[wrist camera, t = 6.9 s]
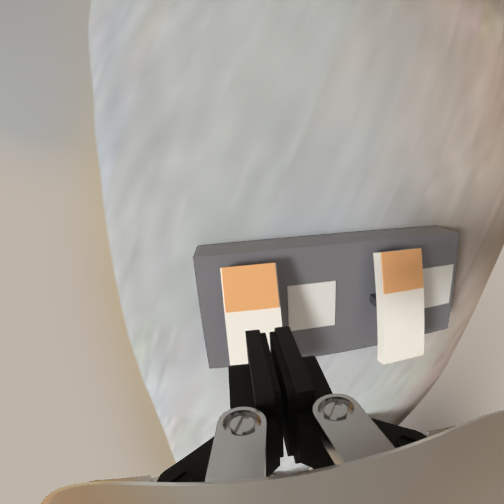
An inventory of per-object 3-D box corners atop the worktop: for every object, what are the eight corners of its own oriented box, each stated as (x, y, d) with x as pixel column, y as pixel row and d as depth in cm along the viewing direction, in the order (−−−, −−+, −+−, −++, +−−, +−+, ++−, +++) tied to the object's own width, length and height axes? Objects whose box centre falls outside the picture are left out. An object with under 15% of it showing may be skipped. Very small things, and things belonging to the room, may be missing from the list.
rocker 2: (373, 252, 24) (380, 252, 23) (413, 248, 25) (421, 248, 23) (377, 360, 24) (384, 365, 23) (416, 351, 25) (424, 354, 23)
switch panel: (197, 245, 28) (191, 262, 23) (435, 225, 29) (468, 235, 24) (210, 345, 30) (208, 378, 25) (428, 313, 32) (455, 334, 27)
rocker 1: (220, 269, 24) (219, 267, 23) (273, 264, 24) (276, 262, 23) (233, 385, 23) (232, 390, 22) (285, 379, 23) (287, 384, 22)
